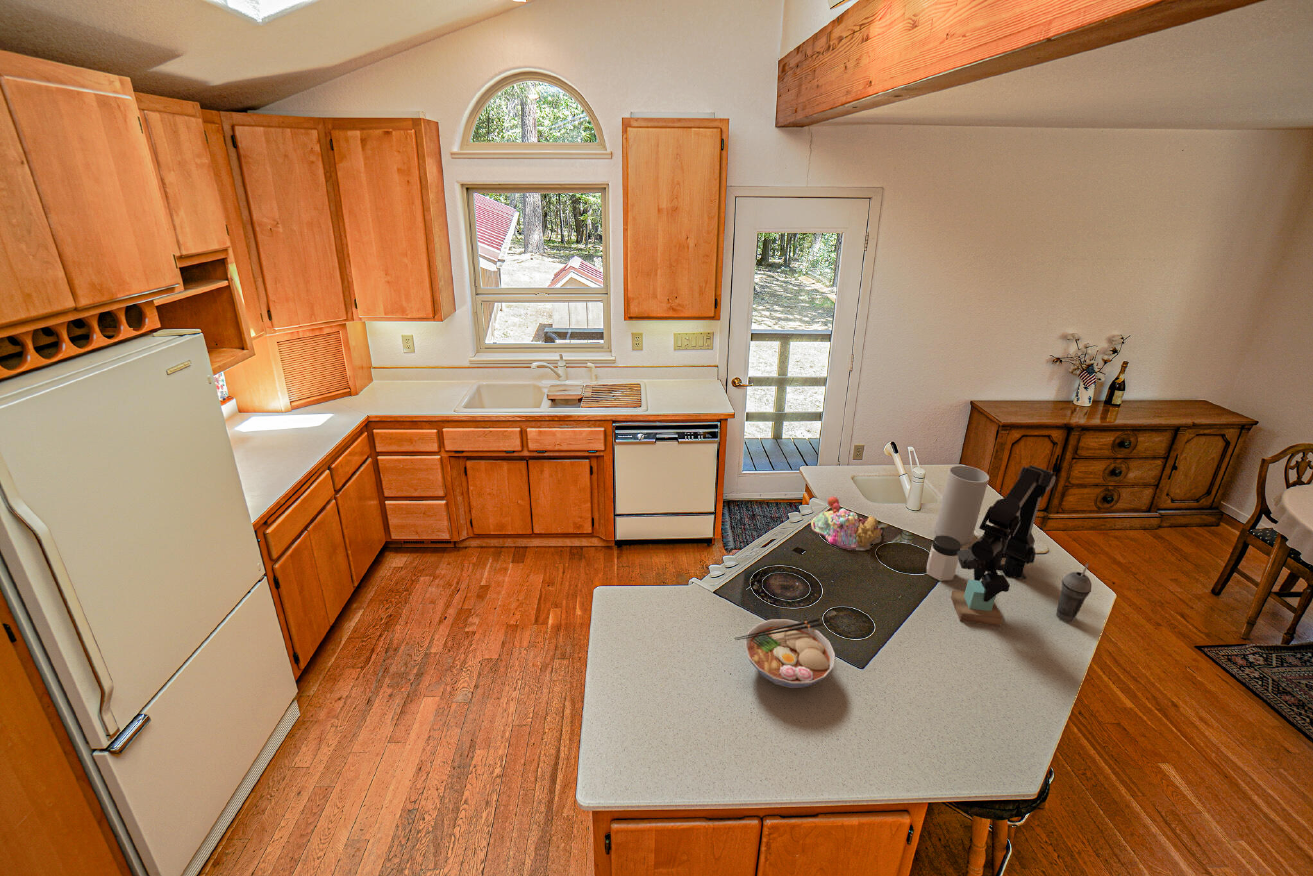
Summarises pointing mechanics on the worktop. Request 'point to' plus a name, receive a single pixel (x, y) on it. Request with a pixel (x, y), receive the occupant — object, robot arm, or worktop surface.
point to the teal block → (977, 596)
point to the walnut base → (975, 611)
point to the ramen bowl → (789, 652)
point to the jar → (943, 558)
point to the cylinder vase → (961, 503)
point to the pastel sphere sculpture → (846, 528)
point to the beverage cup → (1073, 595)
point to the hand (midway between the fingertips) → (980, 591)
